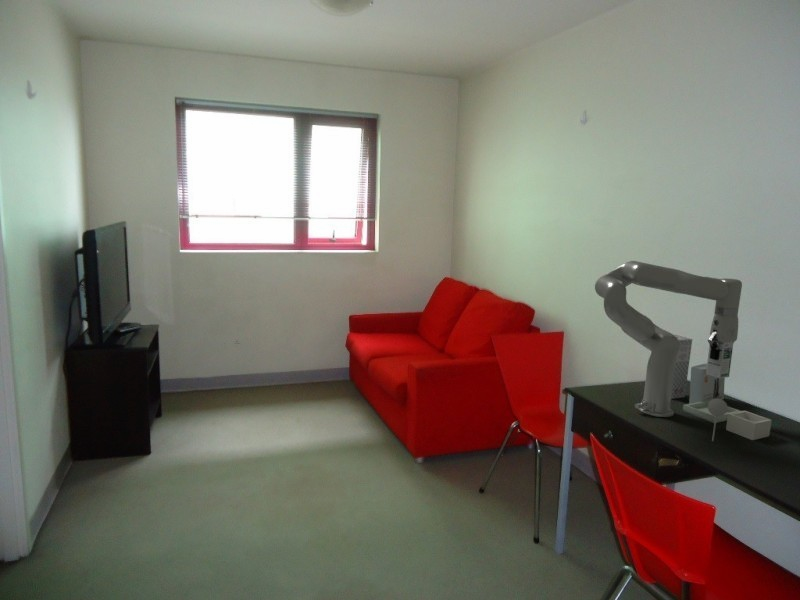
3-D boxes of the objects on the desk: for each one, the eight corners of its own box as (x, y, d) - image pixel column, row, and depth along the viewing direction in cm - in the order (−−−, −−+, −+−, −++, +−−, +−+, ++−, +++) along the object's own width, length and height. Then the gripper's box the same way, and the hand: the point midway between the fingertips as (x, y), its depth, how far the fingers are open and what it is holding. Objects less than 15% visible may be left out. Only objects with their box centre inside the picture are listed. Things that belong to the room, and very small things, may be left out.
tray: (713, 423, 203) (714, 416, 203) (682, 410, 214) (683, 404, 214) (741, 417, 210) (742, 411, 210) (709, 405, 221) (710, 399, 221)
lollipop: (722, 446, 183) (728, 403, 180) (702, 441, 186) (708, 399, 183) (722, 440, 188) (729, 398, 185) (703, 435, 191) (709, 394, 188)
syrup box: (719, 379, 206) (725, 341, 203) (705, 374, 211) (710, 337, 208) (729, 377, 208) (734, 340, 206) (714, 372, 213) (719, 336, 211)
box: (670, 399, 228) (677, 340, 224) (653, 392, 235) (660, 335, 231) (684, 396, 231) (692, 339, 227) (667, 390, 239) (674, 334, 235)
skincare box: (702, 408, 218) (703, 368, 217) (688, 405, 222) (689, 366, 221) (725, 399, 231) (726, 362, 230) (711, 397, 235) (712, 360, 234)
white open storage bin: (752, 440, 189) (755, 423, 188) (725, 429, 197) (728, 413, 196) (769, 436, 193) (771, 419, 192) (742, 426, 201) (744, 410, 200)
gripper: (721, 314, 198) (714, 363, 201) (750, 312, 206) (743, 359, 209) (701, 311, 205) (695, 357, 208) (731, 308, 212) (724, 354, 216)
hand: (719, 358), depth 208 cm, fingers closed on syrup box, 5 cm apart
